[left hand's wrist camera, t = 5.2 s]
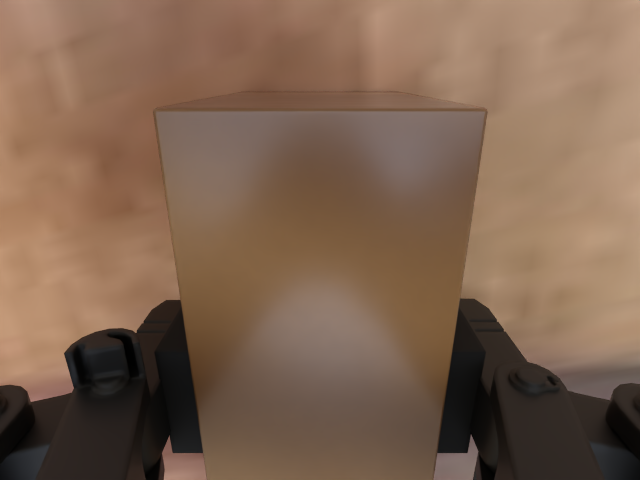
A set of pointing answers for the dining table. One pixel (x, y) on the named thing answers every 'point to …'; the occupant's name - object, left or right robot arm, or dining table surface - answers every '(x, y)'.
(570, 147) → the dining table surface
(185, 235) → the bar
